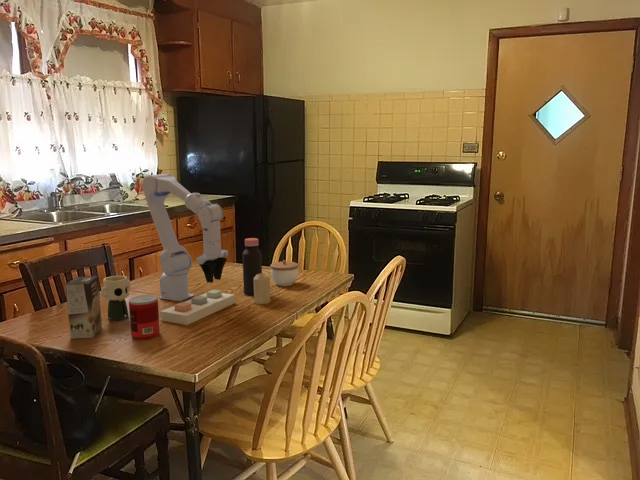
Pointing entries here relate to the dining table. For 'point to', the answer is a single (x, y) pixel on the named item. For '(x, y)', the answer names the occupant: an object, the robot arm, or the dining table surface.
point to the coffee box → (84, 307)
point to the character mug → (116, 295)
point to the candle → (261, 289)
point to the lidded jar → (284, 272)
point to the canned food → (144, 317)
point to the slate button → (199, 300)
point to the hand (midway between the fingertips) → (213, 280)
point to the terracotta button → (182, 307)
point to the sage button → (214, 294)
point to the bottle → (251, 264)
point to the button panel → (197, 310)
